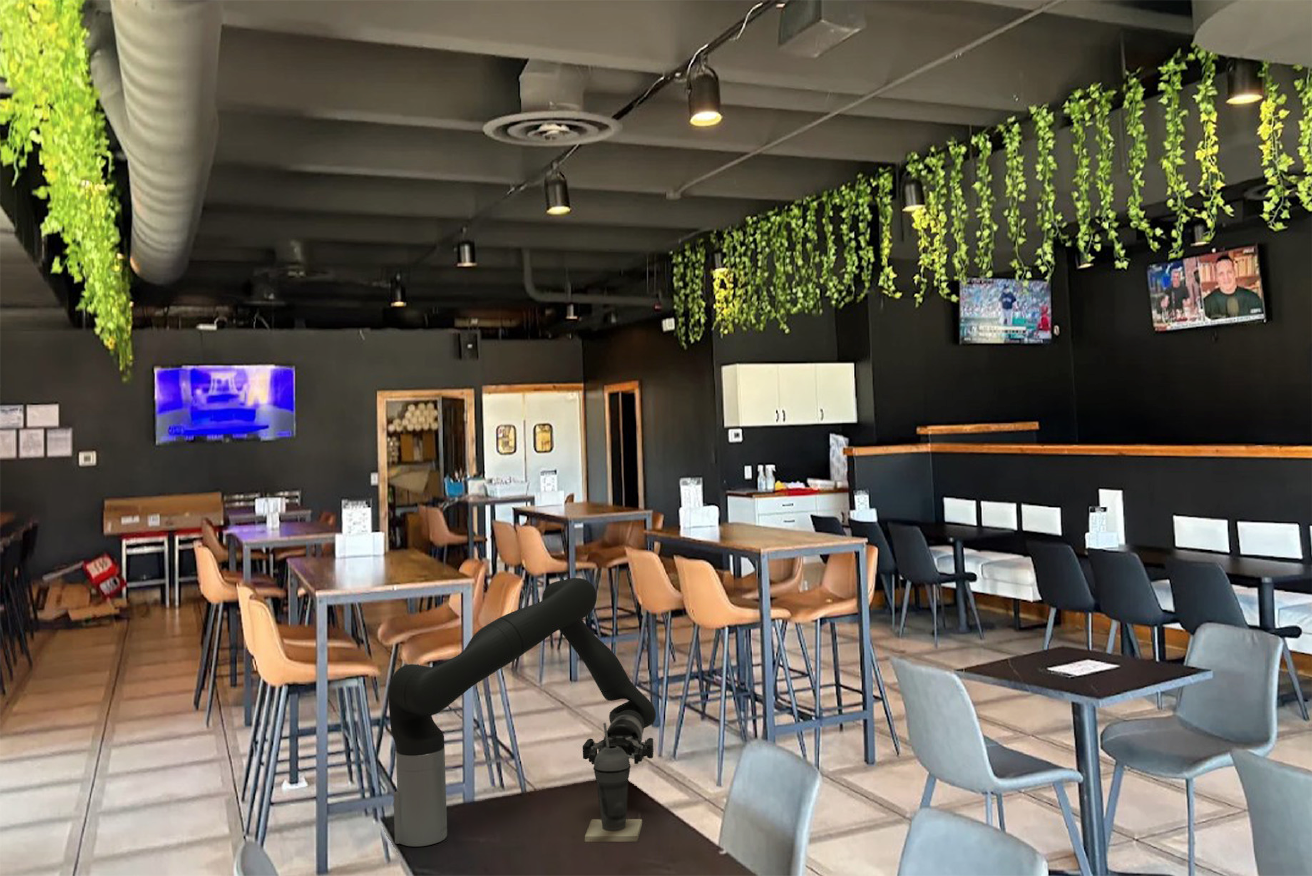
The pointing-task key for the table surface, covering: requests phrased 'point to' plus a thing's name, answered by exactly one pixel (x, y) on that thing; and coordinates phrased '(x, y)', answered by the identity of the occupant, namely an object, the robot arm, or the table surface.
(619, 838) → the birch coaster
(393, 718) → the robot arm
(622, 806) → the beverage cup
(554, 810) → the table surface
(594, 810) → the table surface
